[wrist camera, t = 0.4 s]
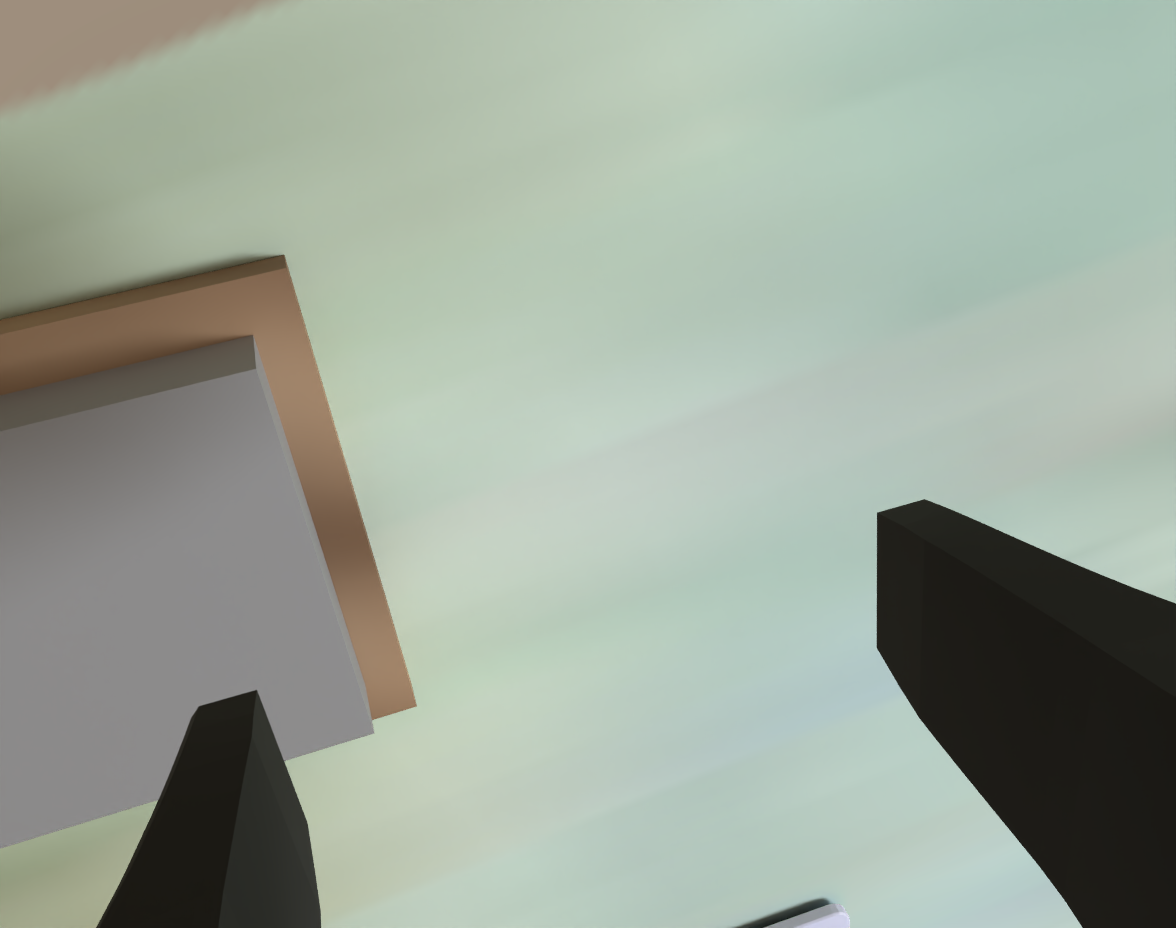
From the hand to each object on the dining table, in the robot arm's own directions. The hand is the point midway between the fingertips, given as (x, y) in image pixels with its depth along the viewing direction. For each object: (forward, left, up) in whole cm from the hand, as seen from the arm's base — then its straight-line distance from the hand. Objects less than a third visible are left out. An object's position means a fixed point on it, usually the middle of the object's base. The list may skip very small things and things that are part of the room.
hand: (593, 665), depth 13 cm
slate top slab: (-3, +7, -9) cm, 12 cm away
